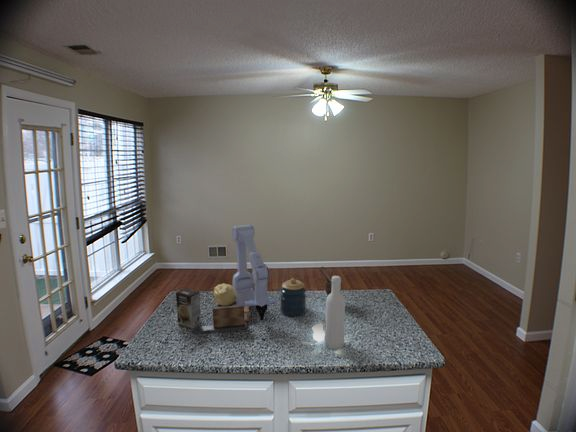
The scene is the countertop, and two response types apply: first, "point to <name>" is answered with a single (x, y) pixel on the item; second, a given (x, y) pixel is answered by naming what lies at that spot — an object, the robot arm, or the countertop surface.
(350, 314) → the countertop surface
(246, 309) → the cube
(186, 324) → the coffee box
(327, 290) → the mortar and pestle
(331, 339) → the bottle
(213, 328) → the rail
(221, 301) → the sculpture
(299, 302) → the canister
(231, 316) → the panel
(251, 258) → the robot arm
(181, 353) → the countertop surface
